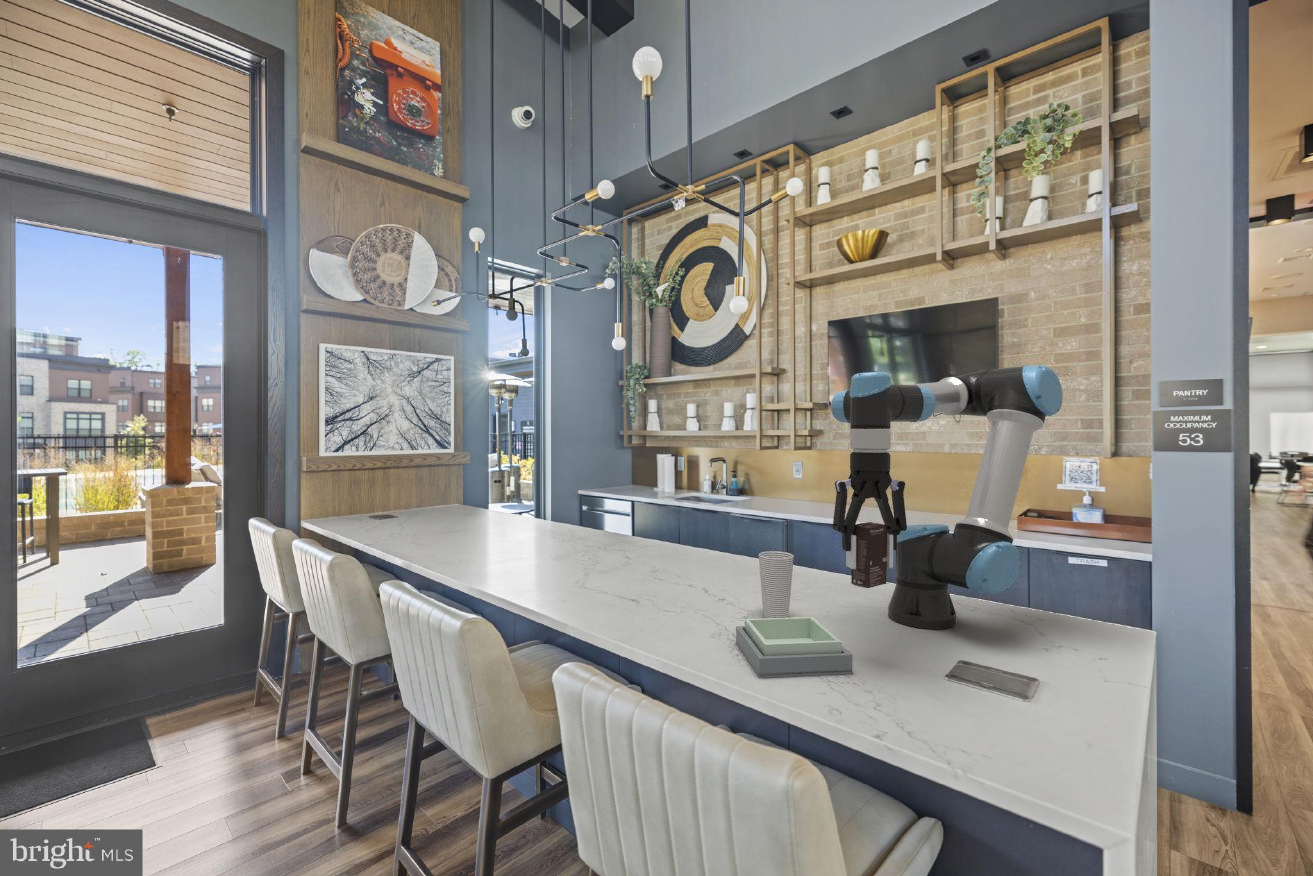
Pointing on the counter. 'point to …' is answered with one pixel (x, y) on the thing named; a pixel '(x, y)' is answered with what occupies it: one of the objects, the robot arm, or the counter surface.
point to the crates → (792, 648)
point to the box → (870, 555)
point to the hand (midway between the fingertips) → (869, 566)
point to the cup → (776, 582)
